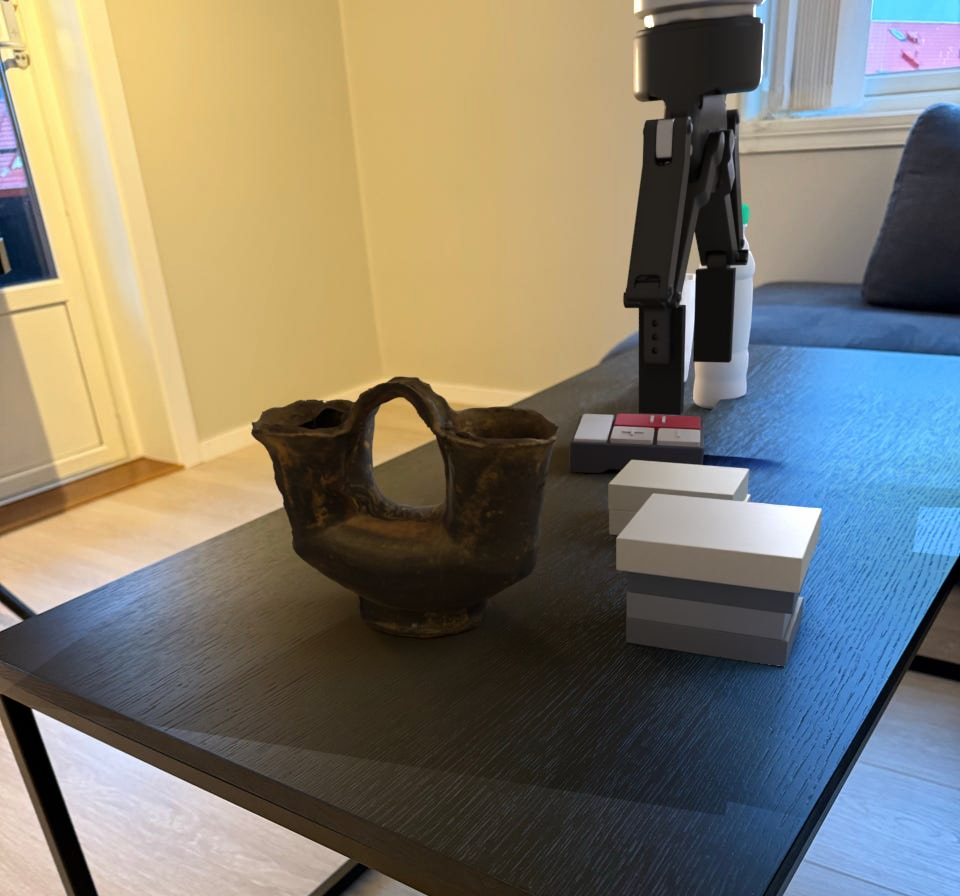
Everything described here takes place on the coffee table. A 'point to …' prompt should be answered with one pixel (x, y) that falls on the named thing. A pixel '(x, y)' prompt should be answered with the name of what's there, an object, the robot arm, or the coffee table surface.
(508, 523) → the pottery vessel
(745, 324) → the water bottle
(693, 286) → the cup
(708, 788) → the coffee table surface
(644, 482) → the white books
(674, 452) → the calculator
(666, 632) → the grey books
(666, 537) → the flat white block
